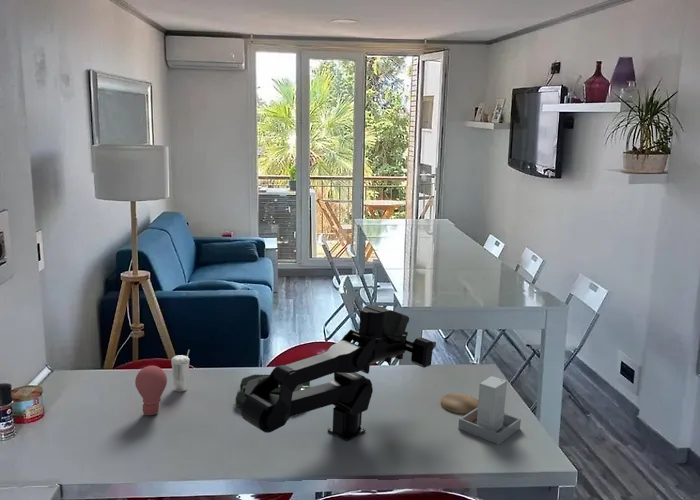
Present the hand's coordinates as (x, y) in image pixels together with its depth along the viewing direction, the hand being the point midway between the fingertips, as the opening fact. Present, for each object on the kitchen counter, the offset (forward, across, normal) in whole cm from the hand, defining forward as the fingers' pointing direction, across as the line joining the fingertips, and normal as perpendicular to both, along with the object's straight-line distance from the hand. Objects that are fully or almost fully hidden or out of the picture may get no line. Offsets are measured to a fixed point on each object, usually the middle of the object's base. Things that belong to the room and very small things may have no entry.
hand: (421, 338), depth 160 cm
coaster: (+8, -9, +16) cm, 20 cm away
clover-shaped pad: (-26, +25, +19) cm, 41 cm away
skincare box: (+3, -21, +17) cm, 27 cm away
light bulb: (-54, +36, +21) cm, 68 cm away
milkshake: (-41, +44, +20) cm, 63 cm away
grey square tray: (+2, -21, +17) cm, 27 cm away
